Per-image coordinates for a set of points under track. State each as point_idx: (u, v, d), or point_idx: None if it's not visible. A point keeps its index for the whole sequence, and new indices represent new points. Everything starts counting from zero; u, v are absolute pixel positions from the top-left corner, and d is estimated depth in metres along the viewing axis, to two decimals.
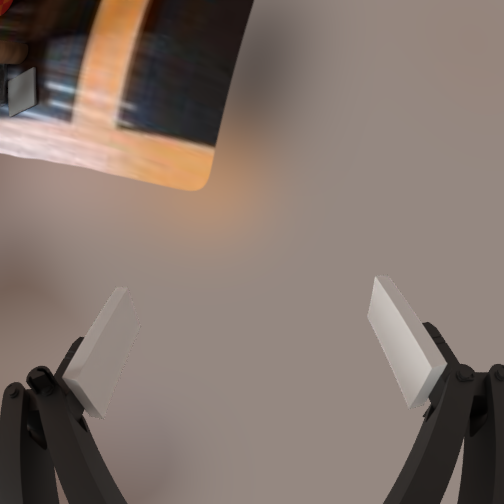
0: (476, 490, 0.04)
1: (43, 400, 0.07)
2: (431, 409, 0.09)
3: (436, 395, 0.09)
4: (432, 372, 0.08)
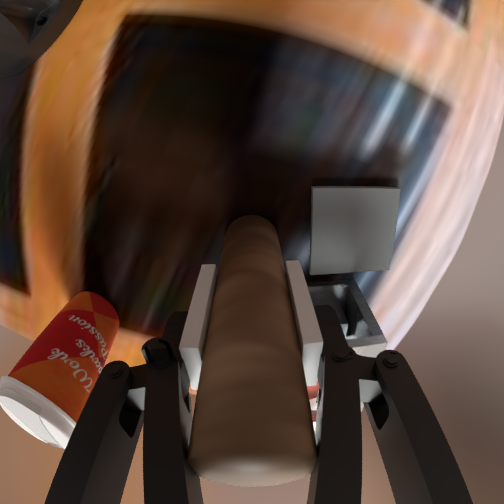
0: (407, 483, 0.05)
1: (154, 372, 0.09)
2: (320, 395, 0.10)
3: (319, 381, 0.10)
4: (307, 349, 0.10)
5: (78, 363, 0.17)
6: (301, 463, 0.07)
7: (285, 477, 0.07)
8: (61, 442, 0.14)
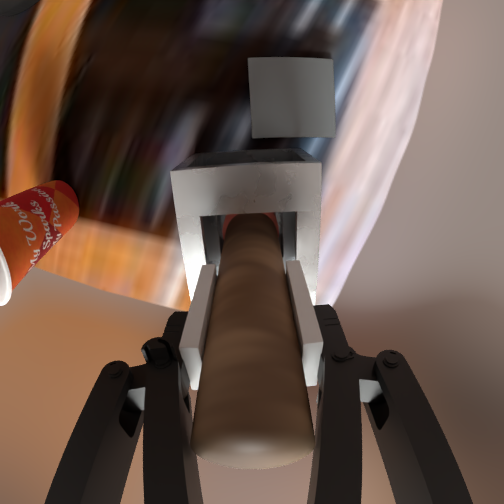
0: (407, 483, 0.05)
1: (154, 372, 0.09)
2: (320, 395, 0.10)
3: (319, 381, 0.10)
4: (307, 349, 0.10)
5: (26, 215, 0.17)
6: (298, 443, 0.07)
7: (283, 459, 0.08)
8: None
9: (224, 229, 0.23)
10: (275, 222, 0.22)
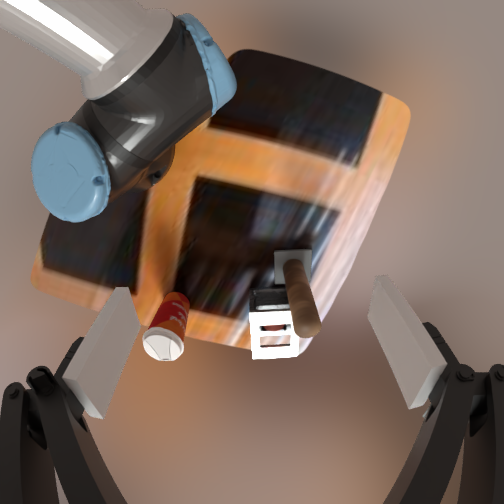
0: (476, 490, 0.04)
1: (43, 400, 0.07)
2: (431, 409, 0.09)
3: (436, 395, 0.09)
4: (432, 372, 0.08)
5: (181, 321, 0.51)
6: (317, 325, 0.40)
7: (314, 332, 0.41)
8: (173, 355, 0.48)
9: None
10: None
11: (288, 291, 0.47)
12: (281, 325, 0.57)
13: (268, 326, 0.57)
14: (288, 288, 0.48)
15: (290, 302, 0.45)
